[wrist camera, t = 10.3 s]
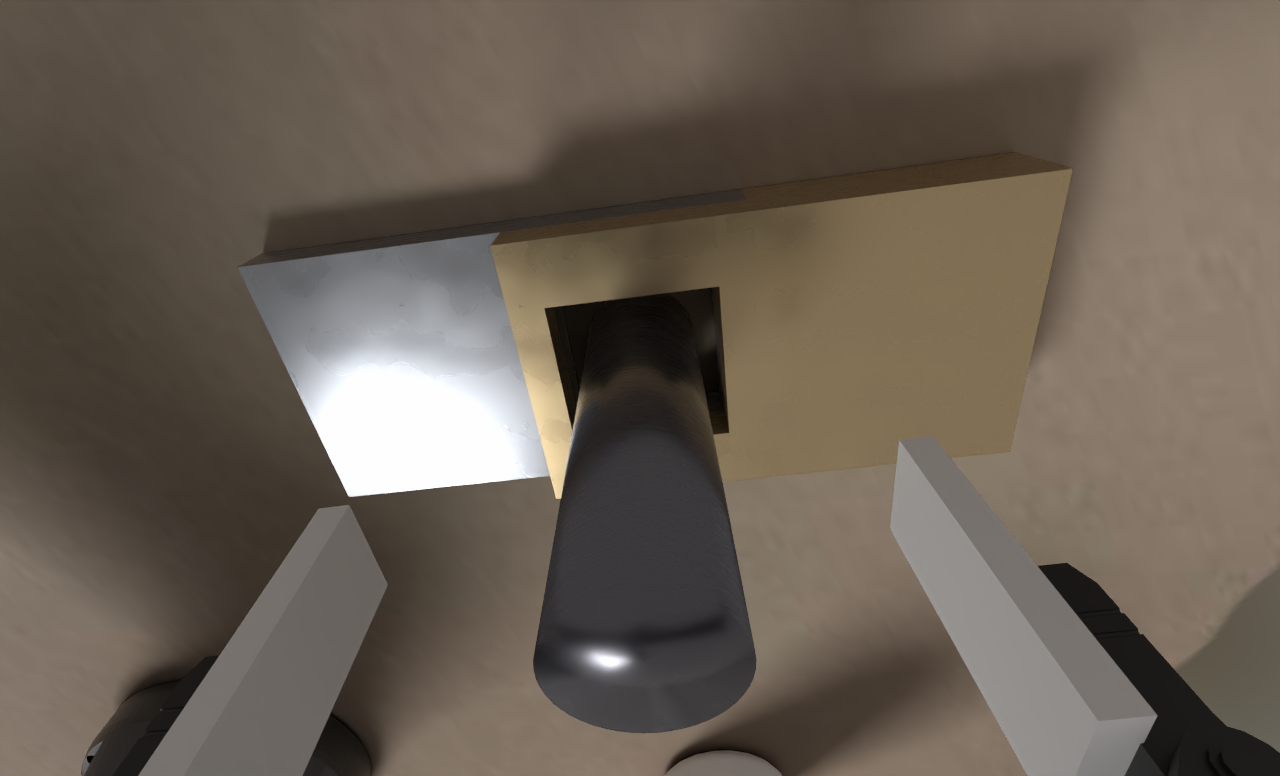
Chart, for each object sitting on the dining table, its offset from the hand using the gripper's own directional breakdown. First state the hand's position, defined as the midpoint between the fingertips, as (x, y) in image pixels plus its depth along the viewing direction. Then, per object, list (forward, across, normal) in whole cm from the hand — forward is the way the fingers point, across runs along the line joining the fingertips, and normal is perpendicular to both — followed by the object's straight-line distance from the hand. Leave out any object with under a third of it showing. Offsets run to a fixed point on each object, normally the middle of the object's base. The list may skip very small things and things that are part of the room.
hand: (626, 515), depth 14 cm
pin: (+10, +1, 0) cm, 10 cm away
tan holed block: (+10, +1, 0) cm, 10 cm away
